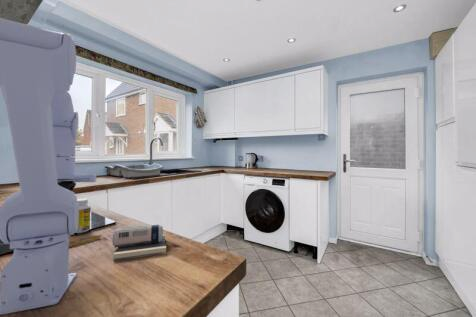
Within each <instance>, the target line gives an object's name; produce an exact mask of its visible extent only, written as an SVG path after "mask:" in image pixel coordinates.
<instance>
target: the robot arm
mask: <svg viewBox="0 0 476 317" xmlns="http://www.w3.org/2000/svg"><path fill="white" fill-rule="evenodd" d="M76 51H77V50H76V42H75V39H74V38H73V37H72V35H71V34H70V33H67V32H65V33H62V32H58V31H55V30H50V29H46V28H42V27H40V26H39V27H38V26H35V25H30V24H27V23H23V22H22V23H21V22H18V21H13V20H10V19H7V18H2V17H0V90H1V93H2V96H3V99H4V101H5V106H6V110H7V111H6V112H7V118H8V122H9V129H10V133H11V141H12V147H13V148H12V149H13V152H14V158H15V164H16V171H17V176H18V177H17V178H18V182H19V184H18V185H19V188H20V189H19V190H18V191H16V192H14V193H12V194H10V195H9V196H8V197H7V198H6V199H5V200H4V201H3V203H2V204H1V206H0V240H1V242H3V243H4V244H5V245H9V250H13V254H12V257H11V259H10V260H9V261H7V263H6V264H5V265H4V266H3V268H2V271H1V273H0V316H1V315H7V314H11V313H16V312H22V311H27V310H33V309H39V308H42V307H48V306H53V305H56V304H58V303H59V301H60V300H61V299H62V298H63V296H64V294H65V293H66V291H67V290H68V288H69V287H70V286H71V284H72V283H73V281H74V279H75V278H76V276H77V273H76V272H72V273H69V259H70V258H69V252H70V250H69V248H70V247H69V236H75V234H74V233H75V232H76V231H77V229H78V220H79V206H78V203H77V199H78V197H77V195H76V193H75V192H74V191H73V190H74V189H75V187H76V185H77V183H95V182H97V174H96V173H76V139H77V138H78V129H79V113H78V111H75V110H74V106H73V100H72V96H71V94H70V93H69V92H70V89H71V86H72V85H73V82H74V77H75V74H76V68H77V52H76Z"/></svg>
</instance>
